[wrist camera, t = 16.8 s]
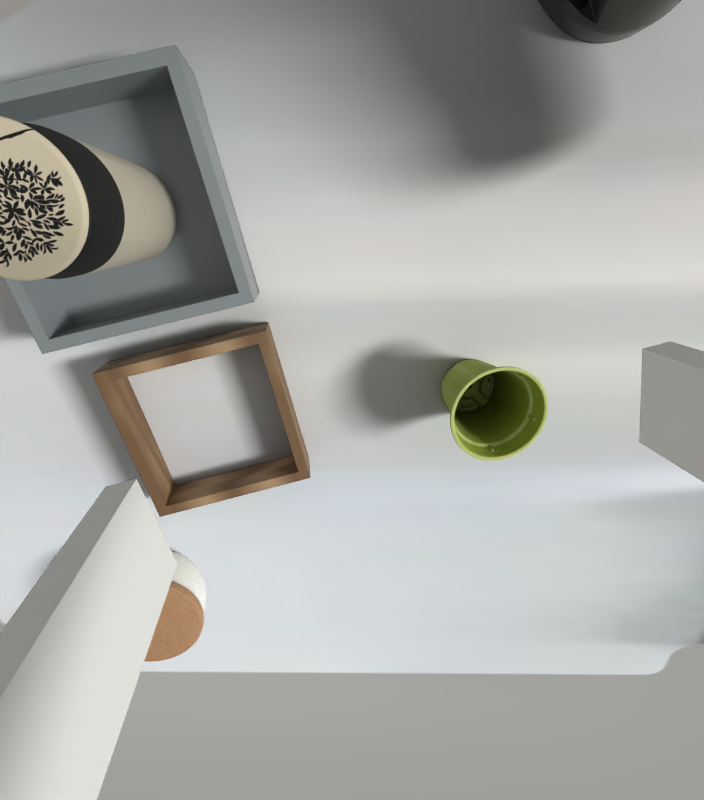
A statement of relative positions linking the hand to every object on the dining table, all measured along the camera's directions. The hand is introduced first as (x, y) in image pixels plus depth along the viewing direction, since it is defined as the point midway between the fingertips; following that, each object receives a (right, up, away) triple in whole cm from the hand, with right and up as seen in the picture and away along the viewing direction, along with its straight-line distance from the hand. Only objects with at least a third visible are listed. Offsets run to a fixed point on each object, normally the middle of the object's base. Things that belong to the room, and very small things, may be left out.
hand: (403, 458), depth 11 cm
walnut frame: (-16, 0, +35) cm, 39 cm away
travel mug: (-21, +18, +27) cm, 38 cm away
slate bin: (-21, +18, +28) cm, 39 cm away
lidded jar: (-23, -19, +42) cm, 52 cm away
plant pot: (+11, +3, +38) cm, 40 cm away
